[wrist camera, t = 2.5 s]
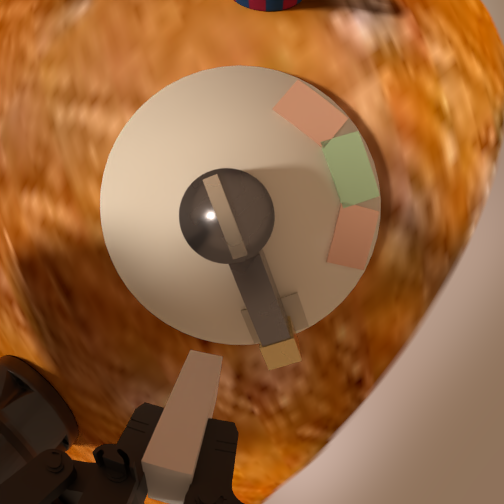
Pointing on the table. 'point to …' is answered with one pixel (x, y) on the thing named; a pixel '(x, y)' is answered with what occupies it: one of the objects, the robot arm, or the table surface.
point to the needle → (241, 251)
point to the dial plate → (261, 167)
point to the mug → (268, 4)
